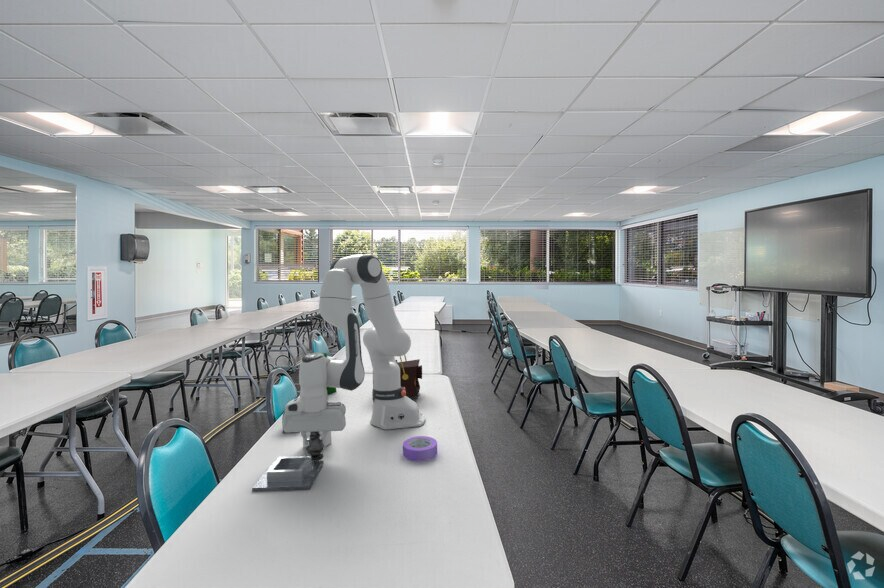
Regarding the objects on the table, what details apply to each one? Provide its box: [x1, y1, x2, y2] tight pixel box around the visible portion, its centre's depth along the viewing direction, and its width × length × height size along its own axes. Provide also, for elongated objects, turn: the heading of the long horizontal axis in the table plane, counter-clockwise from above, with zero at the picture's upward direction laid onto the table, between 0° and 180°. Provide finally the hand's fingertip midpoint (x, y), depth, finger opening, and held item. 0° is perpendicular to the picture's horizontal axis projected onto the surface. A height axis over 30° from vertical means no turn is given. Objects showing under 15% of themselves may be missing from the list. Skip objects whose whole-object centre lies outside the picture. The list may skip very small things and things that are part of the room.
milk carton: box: [322, 352, 337, 395], centre depth 213 cm, size 9×9×20 cm
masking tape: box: [402, 435, 438, 462], centre depth 139 cm, size 12×12×4 cm
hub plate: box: [251, 455, 325, 492], centre depth 124 cm, size 16×16×4 cm
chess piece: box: [305, 431, 325, 461], centre depth 137 cm, size 6×6×12 cm
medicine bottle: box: [302, 431, 332, 448], centre depth 147 cm, size 7×7×12 cm
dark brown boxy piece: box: [372, 354, 423, 397], centre depth 203 cm, size 16×23×25 cm
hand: (315, 443), depth 137 cm, fingers closed on chess piece, 3 cm apart
